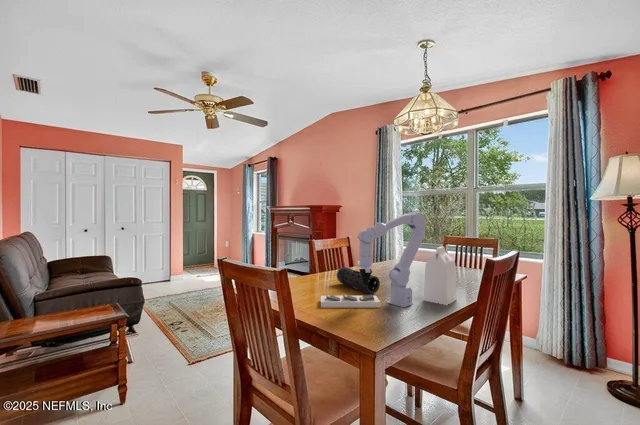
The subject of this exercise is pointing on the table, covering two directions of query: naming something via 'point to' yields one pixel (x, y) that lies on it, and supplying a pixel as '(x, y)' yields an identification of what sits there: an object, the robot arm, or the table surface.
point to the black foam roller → (357, 280)
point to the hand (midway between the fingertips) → (365, 284)
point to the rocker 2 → (367, 298)
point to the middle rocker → (349, 298)
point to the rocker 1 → (332, 298)
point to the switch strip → (349, 302)
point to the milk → (440, 278)
